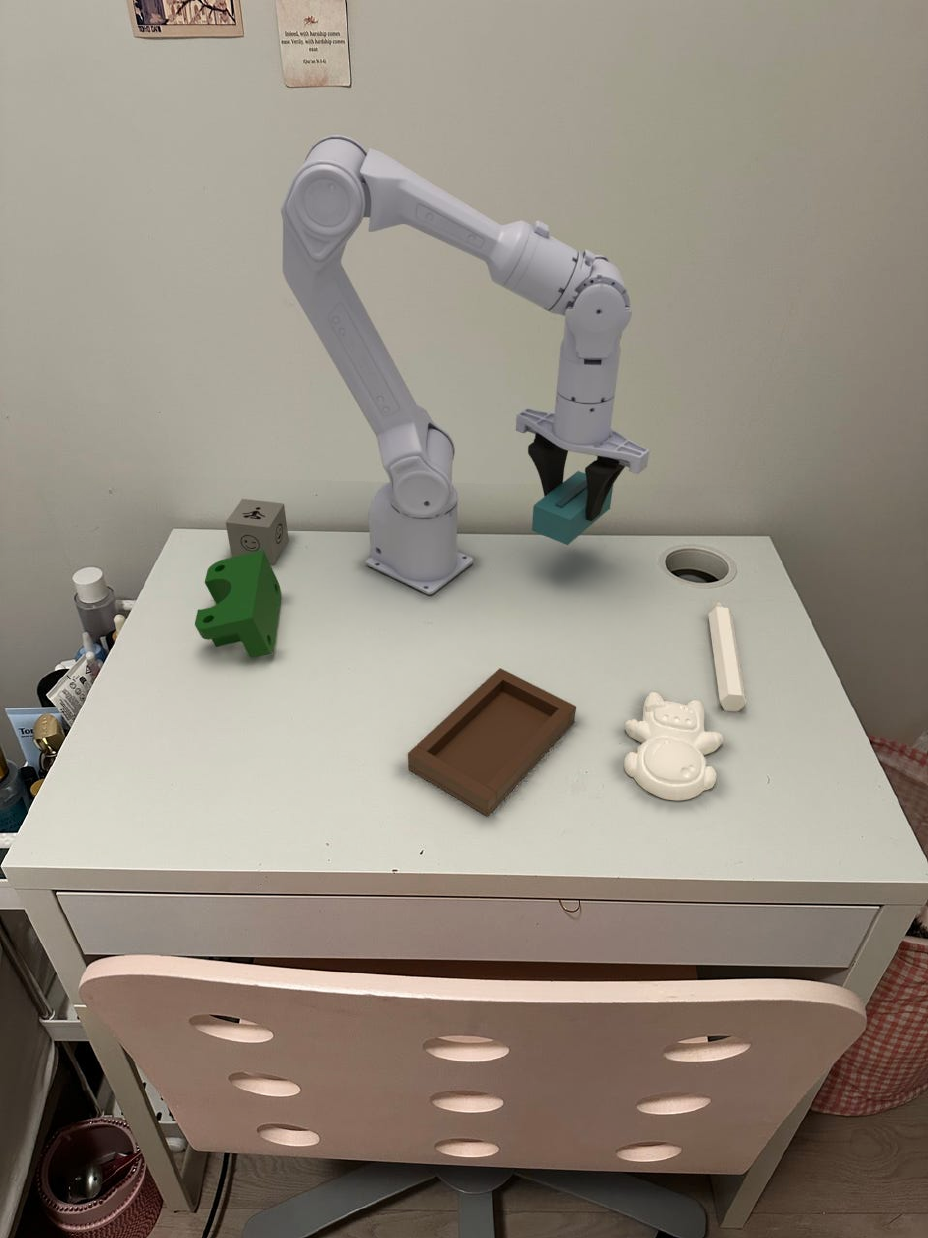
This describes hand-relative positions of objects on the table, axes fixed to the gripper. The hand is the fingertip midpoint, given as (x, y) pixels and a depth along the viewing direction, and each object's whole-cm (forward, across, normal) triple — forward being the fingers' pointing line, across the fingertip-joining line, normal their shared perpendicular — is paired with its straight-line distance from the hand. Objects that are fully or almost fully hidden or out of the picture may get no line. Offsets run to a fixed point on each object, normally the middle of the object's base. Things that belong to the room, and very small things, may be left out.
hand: (572, 508), depth 100 cm
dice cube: (+8, +30, +18) cm, 36 cm away
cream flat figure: (+8, -22, +18) cm, 29 cm away
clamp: (+8, +21, +29) cm, 37 cm away
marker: (+8, -20, +3) cm, 22 cm away
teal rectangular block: (+1, 0, 0) cm, 1 cm away
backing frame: (+8, -9, +27) cm, 29 cm away
